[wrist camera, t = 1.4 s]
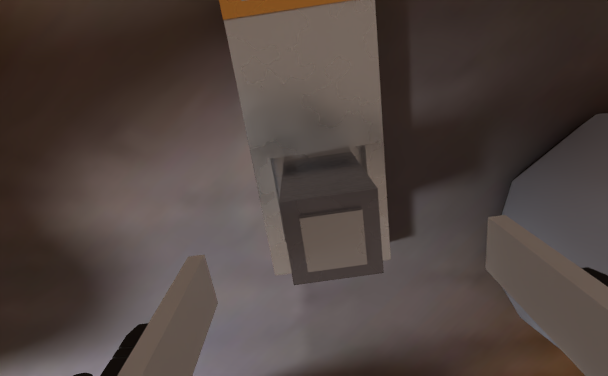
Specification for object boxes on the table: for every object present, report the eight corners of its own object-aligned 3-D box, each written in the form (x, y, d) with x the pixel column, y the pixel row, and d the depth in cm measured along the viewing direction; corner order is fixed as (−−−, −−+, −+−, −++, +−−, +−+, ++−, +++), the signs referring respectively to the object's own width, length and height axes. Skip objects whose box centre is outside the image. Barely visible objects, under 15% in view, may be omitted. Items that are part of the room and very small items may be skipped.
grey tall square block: (293, 222, 26) (294, 288, 18) (283, 161, 24) (278, 204, 16) (357, 213, 26) (385, 276, 18) (351, 151, 24) (379, 190, 16)
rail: (276, 258, 28) (275, 276, 25) (192, -173, 18) (176, -210, 16) (382, 244, 28) (391, 260, 25) (352, -199, 18) (361, -242, 16)
